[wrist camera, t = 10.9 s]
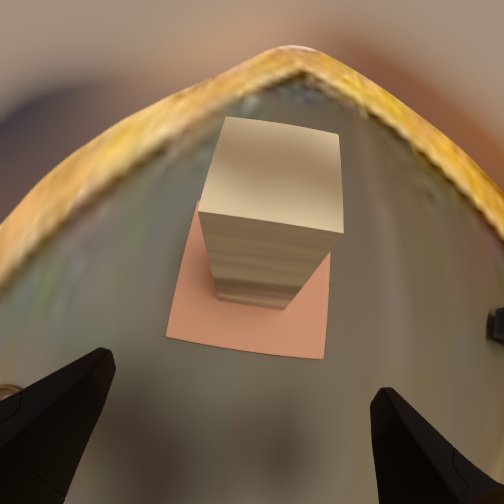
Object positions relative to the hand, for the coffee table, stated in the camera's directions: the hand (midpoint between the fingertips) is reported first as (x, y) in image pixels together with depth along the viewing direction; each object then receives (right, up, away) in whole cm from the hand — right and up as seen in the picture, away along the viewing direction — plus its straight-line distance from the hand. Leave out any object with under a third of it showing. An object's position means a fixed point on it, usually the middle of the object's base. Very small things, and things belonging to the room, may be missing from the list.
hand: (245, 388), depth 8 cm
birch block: (0, +2, +14) cm, 14 cm away
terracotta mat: (0, +2, +15) cm, 15 cm away
